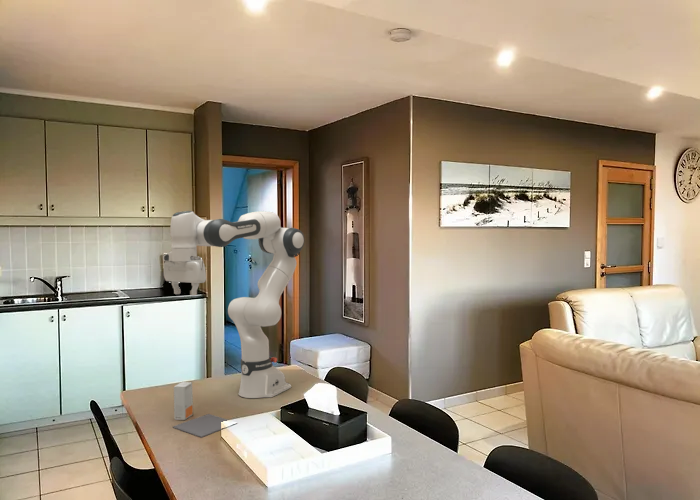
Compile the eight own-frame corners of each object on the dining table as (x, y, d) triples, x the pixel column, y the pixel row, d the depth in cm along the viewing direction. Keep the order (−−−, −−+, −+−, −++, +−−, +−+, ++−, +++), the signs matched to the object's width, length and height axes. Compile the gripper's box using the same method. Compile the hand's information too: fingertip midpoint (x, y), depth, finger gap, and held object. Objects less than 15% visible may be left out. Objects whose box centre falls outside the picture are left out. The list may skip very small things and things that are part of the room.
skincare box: (185, 420, 187) (184, 386, 187) (174, 419, 188) (173, 386, 188) (193, 414, 193) (192, 382, 193) (182, 414, 194) (181, 381, 193)
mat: (208, 414, 192) (208, 413, 192) (237, 423, 183) (237, 422, 183) (172, 427, 180) (172, 426, 180) (201, 437, 171) (201, 436, 171)
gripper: (209, 256, 187) (211, 295, 188) (174, 255, 199) (176, 292, 200) (194, 257, 182) (196, 297, 183) (159, 256, 194) (161, 294, 195)
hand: (185, 294), depth 191 cm, fingers open, 8 cm apart
